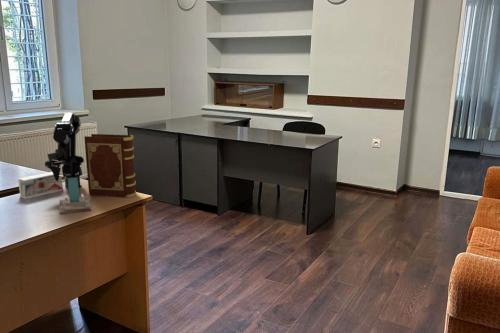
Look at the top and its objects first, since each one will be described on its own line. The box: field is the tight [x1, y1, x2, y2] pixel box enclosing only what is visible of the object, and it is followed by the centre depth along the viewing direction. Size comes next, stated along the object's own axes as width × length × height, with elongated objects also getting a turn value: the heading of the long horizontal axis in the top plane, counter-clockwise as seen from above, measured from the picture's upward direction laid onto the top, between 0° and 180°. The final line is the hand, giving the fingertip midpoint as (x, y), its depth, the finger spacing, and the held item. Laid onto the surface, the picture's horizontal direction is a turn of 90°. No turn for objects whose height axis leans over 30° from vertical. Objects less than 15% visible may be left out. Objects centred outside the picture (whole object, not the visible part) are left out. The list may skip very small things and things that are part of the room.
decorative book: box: [84, 133, 137, 198], centre depth 206 cm, size 22×8×30 cm, turn 84°
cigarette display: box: [17, 171, 64, 200], centre depth 209 cm, size 20×6×9 cm, turn 144°
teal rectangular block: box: [67, 177, 80, 203], centre depth 190 cm, size 6×4×12 cm, turn 23°
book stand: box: [58, 193, 92, 215], centre depth 191 cm, size 18×13×4 cm
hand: (64, 179), depth 198 cm, fingers open, 9 cm apart
